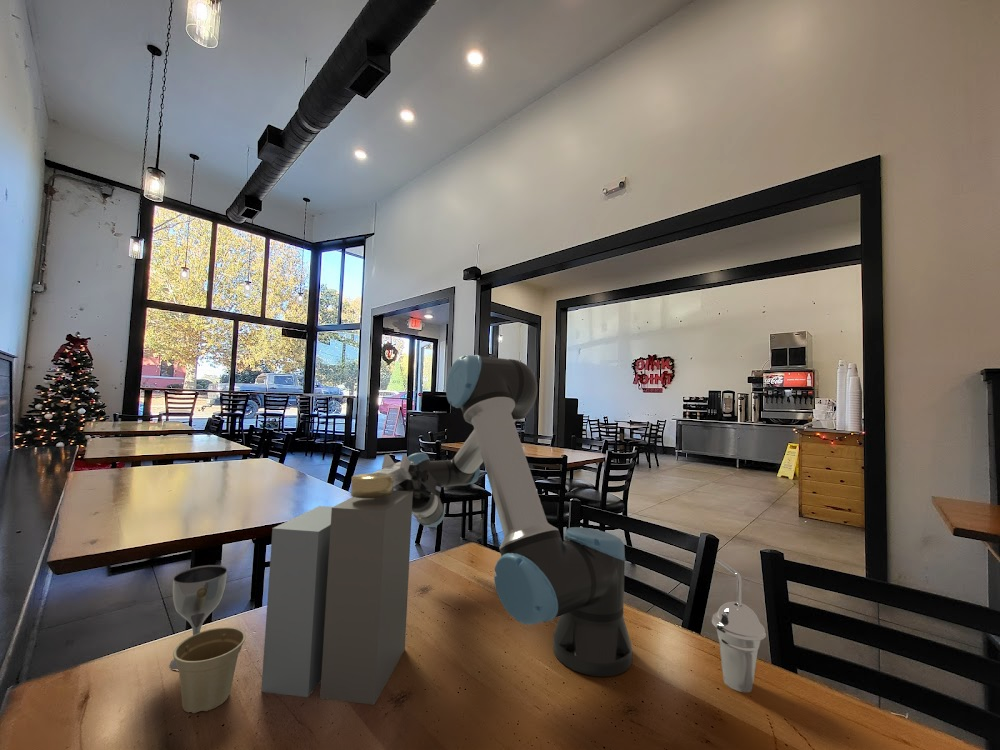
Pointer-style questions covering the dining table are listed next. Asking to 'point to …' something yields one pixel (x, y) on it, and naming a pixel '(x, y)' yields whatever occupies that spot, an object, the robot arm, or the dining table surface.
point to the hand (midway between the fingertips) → (394, 461)
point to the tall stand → (366, 596)
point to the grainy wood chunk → (377, 482)
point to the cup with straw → (738, 640)
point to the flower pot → (208, 667)
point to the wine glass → (198, 594)
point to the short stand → (297, 604)
